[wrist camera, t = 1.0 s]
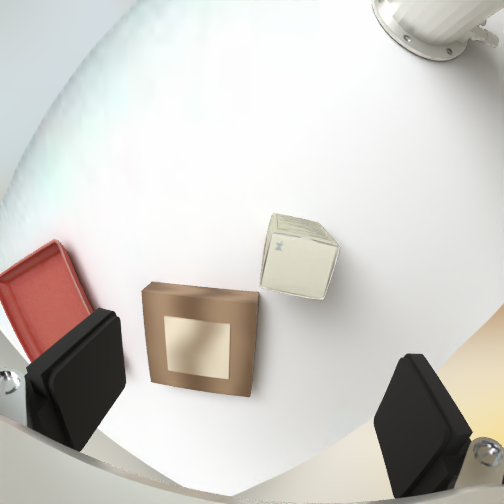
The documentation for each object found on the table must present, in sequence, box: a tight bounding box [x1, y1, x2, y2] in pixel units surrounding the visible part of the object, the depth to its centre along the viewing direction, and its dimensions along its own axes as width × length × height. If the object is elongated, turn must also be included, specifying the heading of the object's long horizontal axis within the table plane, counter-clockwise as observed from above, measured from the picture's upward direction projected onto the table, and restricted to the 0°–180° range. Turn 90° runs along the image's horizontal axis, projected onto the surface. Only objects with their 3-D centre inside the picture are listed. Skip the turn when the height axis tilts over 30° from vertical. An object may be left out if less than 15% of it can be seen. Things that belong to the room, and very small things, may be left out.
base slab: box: [142, 282, 259, 397], centre depth 33 cm, size 12×12×3 cm
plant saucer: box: [0, 239, 94, 363], centre depth 35 cm, size 18×18×3 cm
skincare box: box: [260, 213, 340, 300], centre depth 26 cm, size 5×4×10 cm
